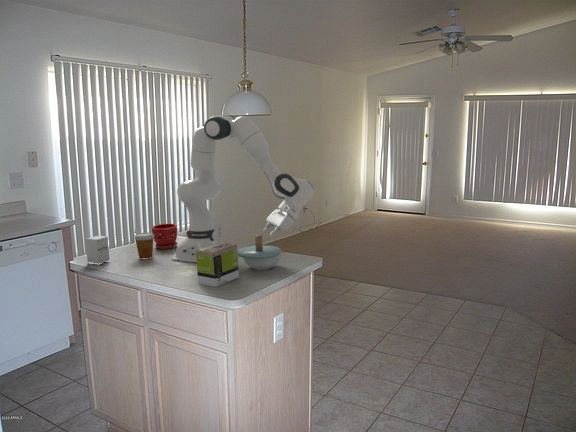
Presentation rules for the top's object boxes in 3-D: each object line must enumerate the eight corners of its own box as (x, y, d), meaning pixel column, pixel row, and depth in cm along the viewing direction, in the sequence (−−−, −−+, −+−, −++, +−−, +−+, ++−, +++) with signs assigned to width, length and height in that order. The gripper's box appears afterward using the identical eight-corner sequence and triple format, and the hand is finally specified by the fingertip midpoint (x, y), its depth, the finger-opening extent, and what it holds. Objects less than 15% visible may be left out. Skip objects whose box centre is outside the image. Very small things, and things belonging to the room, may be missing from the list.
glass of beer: (158, 255, 248) (157, 232, 246) (150, 260, 239) (148, 236, 237) (141, 255, 250) (139, 232, 248) (132, 260, 241) (130, 236, 239)
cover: (231, 258, 213) (230, 240, 212) (243, 247, 233) (243, 230, 231) (276, 259, 210) (275, 241, 208) (285, 248, 229) (284, 231, 228)
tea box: (222, 274, 213) (220, 241, 211) (239, 278, 208) (238, 244, 205) (197, 283, 201) (195, 248, 199) (215, 287, 196) (213, 251, 193)
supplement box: (98, 265, 232) (95, 239, 230) (87, 264, 236) (84, 238, 233) (110, 261, 239) (108, 236, 237) (99, 260, 242) (97, 235, 240)
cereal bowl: (273, 260, 234) (273, 246, 232) (286, 269, 218) (286, 254, 217) (239, 265, 227) (238, 250, 226) (250, 274, 212) (249, 259, 211)
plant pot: (159, 244, 274) (158, 223, 271) (182, 244, 271) (180, 223, 269) (148, 249, 261) (147, 227, 259) (171, 250, 258) (170, 228, 256)
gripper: (275, 203, 231) (256, 225, 229) (290, 209, 212) (269, 233, 210) (284, 211, 233) (265, 233, 232) (300, 218, 214) (279, 242, 213)
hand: (267, 233), depth 221 cm, fingers open, 8 cm apart
